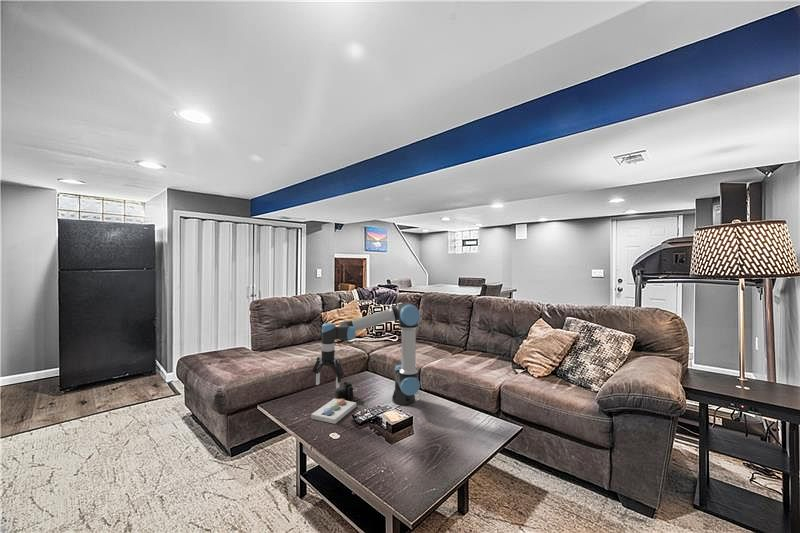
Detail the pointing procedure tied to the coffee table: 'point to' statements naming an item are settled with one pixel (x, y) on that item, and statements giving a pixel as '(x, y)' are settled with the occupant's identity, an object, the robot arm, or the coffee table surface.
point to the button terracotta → (341, 402)
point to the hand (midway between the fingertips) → (327, 386)
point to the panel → (333, 412)
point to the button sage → (335, 406)
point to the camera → (345, 392)
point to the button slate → (328, 411)
